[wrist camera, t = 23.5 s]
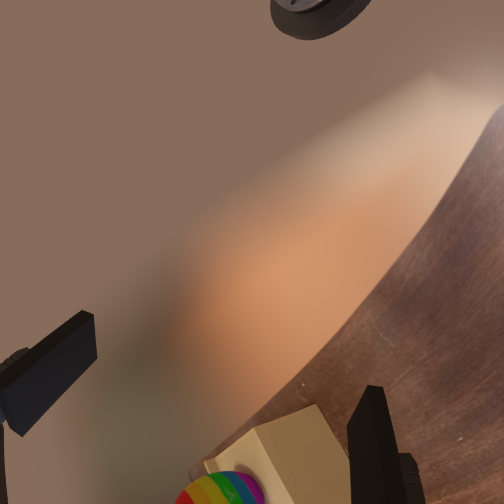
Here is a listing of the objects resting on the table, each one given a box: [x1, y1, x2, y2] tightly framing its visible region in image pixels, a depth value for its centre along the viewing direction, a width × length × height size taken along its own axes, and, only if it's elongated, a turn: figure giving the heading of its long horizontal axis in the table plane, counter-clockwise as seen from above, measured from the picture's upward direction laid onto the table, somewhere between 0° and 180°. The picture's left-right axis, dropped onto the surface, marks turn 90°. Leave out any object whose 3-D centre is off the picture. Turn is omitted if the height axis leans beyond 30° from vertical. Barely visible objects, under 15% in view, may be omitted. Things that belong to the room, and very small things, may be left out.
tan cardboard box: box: [203, 404, 351, 504], centre depth 32 cm, size 14×16×10 cm
